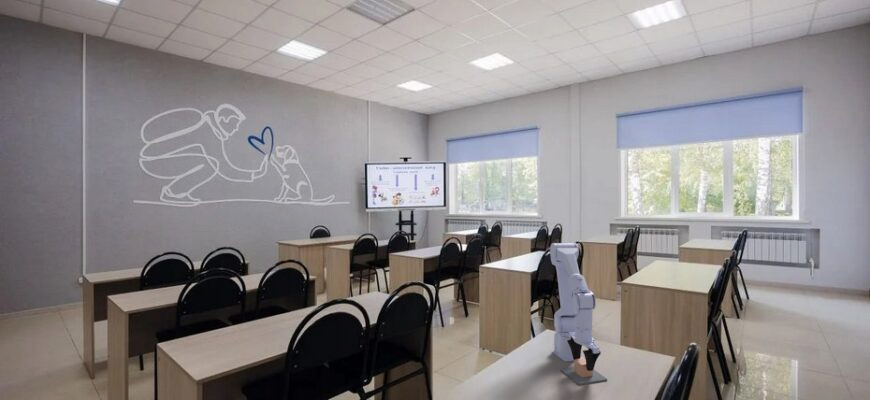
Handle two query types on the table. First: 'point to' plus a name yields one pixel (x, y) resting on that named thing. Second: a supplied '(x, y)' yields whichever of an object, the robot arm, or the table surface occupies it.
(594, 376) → the mat
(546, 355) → the table surface
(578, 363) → the cube
